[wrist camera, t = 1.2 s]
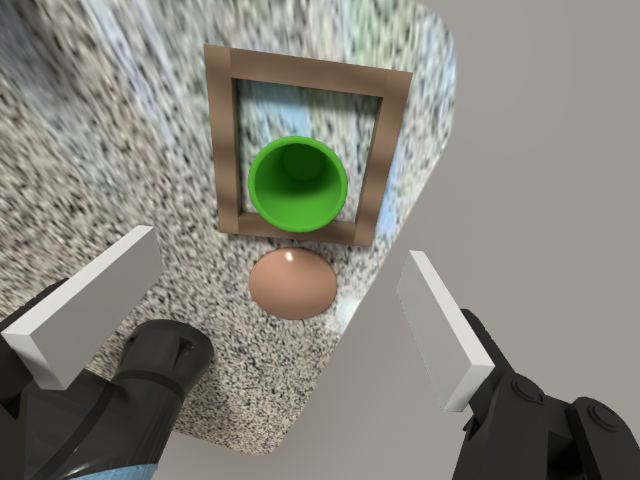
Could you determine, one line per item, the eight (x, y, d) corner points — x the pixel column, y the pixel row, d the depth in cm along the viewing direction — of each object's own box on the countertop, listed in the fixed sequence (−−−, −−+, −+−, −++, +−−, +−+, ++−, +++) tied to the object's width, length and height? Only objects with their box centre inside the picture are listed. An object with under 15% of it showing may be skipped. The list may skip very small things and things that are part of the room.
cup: (342, 189, 35) (351, 227, 26) (275, 197, 36) (260, 238, 26) (335, 116, 31) (344, 129, 21) (259, 126, 31) (234, 144, 22)
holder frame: (368, 239, 39) (370, 246, 38) (224, 225, 38) (220, 232, 36) (407, 73, 29) (413, 72, 27) (210, 46, 27) (203, 43, 26)
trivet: (330, 316, 47) (330, 322, 46) (251, 311, 46) (249, 316, 45) (342, 251, 40) (343, 255, 39) (249, 242, 39) (247, 247, 38)
